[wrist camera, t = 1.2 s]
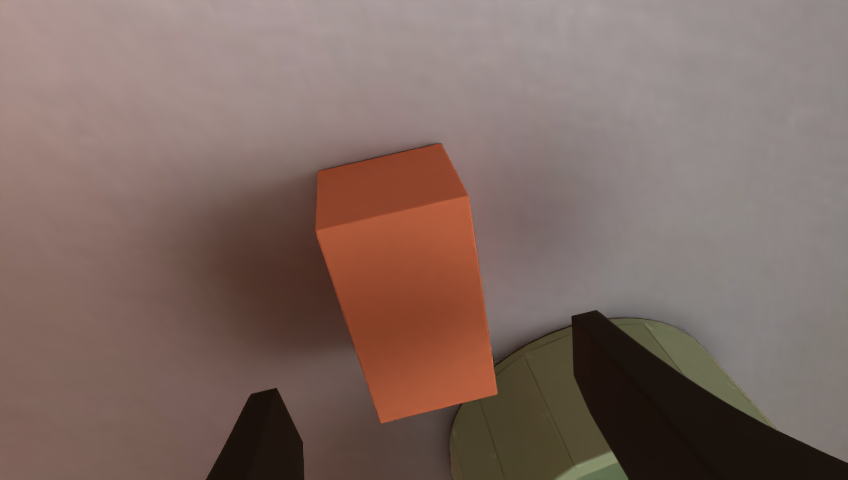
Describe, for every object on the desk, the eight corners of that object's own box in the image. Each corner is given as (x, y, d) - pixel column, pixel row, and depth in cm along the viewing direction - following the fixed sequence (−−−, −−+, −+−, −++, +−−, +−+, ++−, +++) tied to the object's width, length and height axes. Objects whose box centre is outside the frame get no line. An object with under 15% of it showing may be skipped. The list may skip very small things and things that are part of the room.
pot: (446, 523, 26) (471, 650, 22) (452, 335, 20) (490, 459, 15) (675, 488, 28) (743, 598, 23) (750, 303, 21) (865, 406, 17)
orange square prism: (471, 321, 19) (497, 394, 16) (372, 345, 19) (380, 424, 16) (441, 142, 16) (469, 195, 13) (317, 170, 15) (314, 230, 12)
